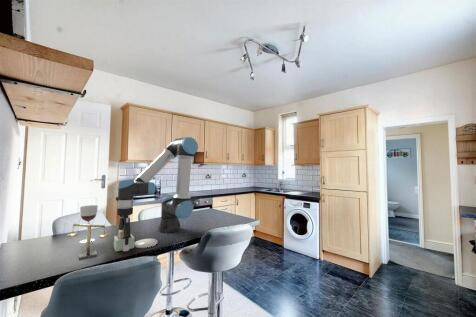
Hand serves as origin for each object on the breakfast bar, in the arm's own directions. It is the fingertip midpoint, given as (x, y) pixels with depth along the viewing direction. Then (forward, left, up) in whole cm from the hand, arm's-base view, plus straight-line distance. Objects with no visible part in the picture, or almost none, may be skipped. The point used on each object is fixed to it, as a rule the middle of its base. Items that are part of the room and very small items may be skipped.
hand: (123, 247), depth 115 cm
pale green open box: (0, 0, 0) cm, 0 cm away
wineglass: (+15, -24, 0) cm, 28 cm away
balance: (+16, +3, 0) cm, 16 cm away
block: (0, 0, 0) cm, 0 cm away
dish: (-11, +2, 0) cm, 11 cm away
